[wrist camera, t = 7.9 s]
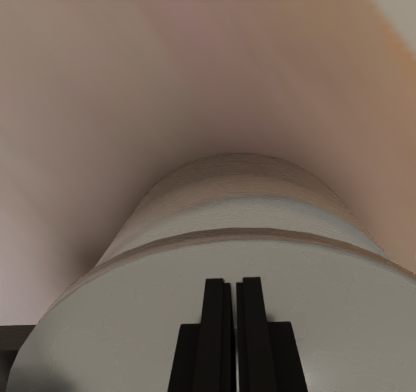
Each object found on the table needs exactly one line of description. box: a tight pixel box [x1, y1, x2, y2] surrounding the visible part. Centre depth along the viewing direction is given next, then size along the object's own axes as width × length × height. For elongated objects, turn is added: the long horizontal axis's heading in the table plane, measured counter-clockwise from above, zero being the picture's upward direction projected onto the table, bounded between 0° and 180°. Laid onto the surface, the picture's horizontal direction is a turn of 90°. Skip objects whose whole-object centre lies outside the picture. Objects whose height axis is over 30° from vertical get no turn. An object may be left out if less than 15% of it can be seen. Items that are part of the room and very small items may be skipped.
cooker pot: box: [0, 153, 393, 382], centre depth 20 cm, size 19×22×12 cm
